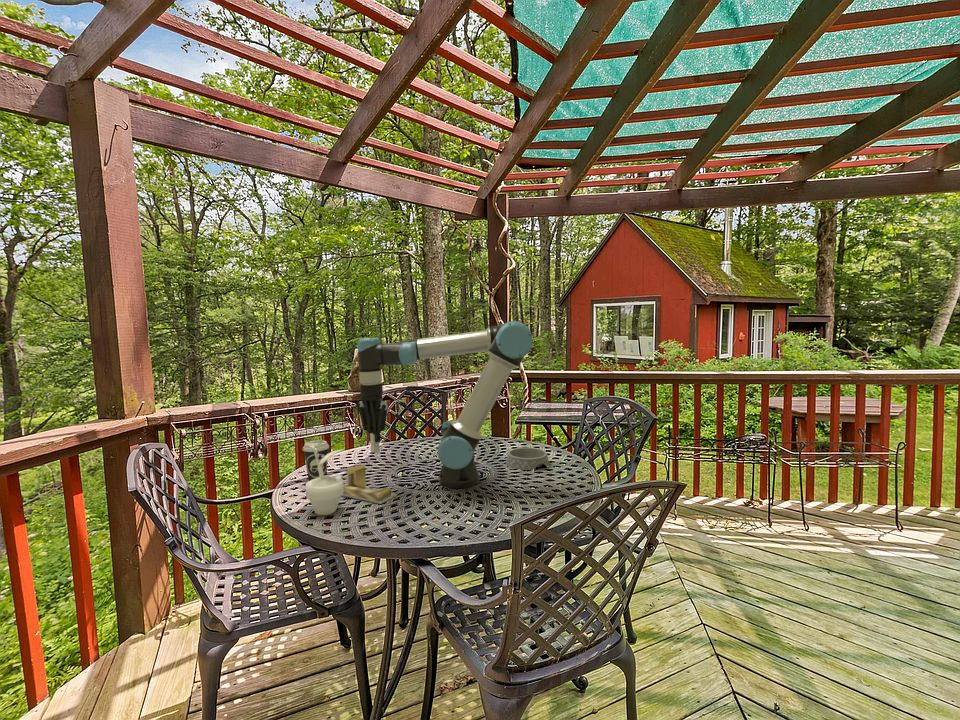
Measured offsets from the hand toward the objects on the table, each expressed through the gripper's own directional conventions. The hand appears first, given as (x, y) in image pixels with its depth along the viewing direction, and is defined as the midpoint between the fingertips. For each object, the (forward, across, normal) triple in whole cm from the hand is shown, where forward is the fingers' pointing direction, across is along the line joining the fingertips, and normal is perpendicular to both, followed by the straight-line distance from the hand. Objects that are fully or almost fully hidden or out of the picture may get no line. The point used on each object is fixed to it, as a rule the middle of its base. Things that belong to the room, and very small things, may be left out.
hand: (375, 451), depth 166 cm
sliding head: (+14, +9, +1) cm, 17 cm away
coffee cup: (+16, +31, -2) cm, 35 cm away
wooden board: (+16, +3, +1) cm, 16 cm away
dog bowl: (+18, -33, -55) cm, 67 cm away
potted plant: (+16, +6, +18) cm, 24 cm away
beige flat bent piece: (+15, +3, +2) cm, 15 cm away
